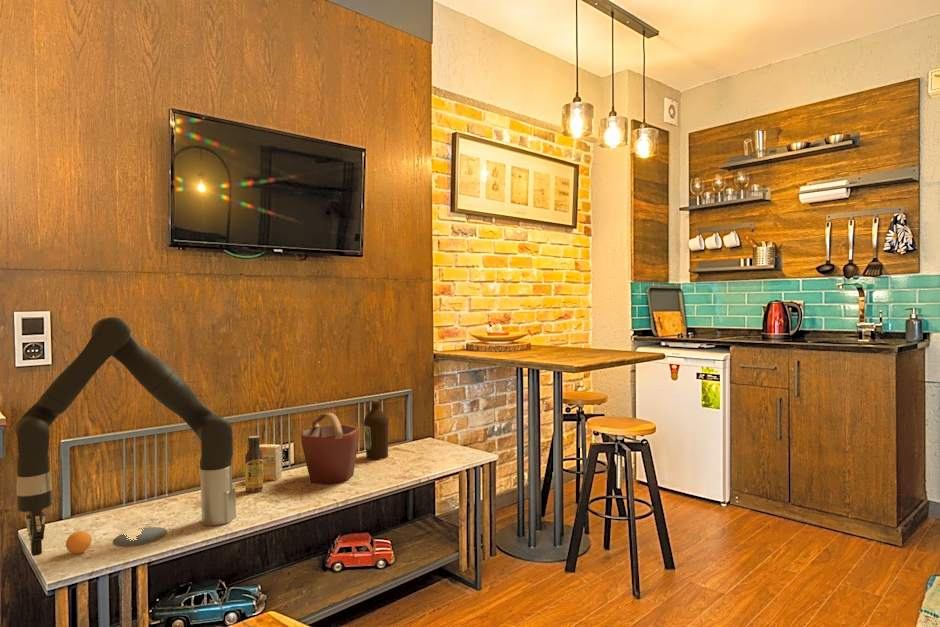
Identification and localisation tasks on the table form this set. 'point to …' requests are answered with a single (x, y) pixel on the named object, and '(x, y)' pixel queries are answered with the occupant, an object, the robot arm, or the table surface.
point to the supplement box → (271, 461)
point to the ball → (78, 542)
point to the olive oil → (376, 433)
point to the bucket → (330, 450)
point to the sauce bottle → (254, 466)
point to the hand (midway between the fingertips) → (36, 554)
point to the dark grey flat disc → (141, 537)
